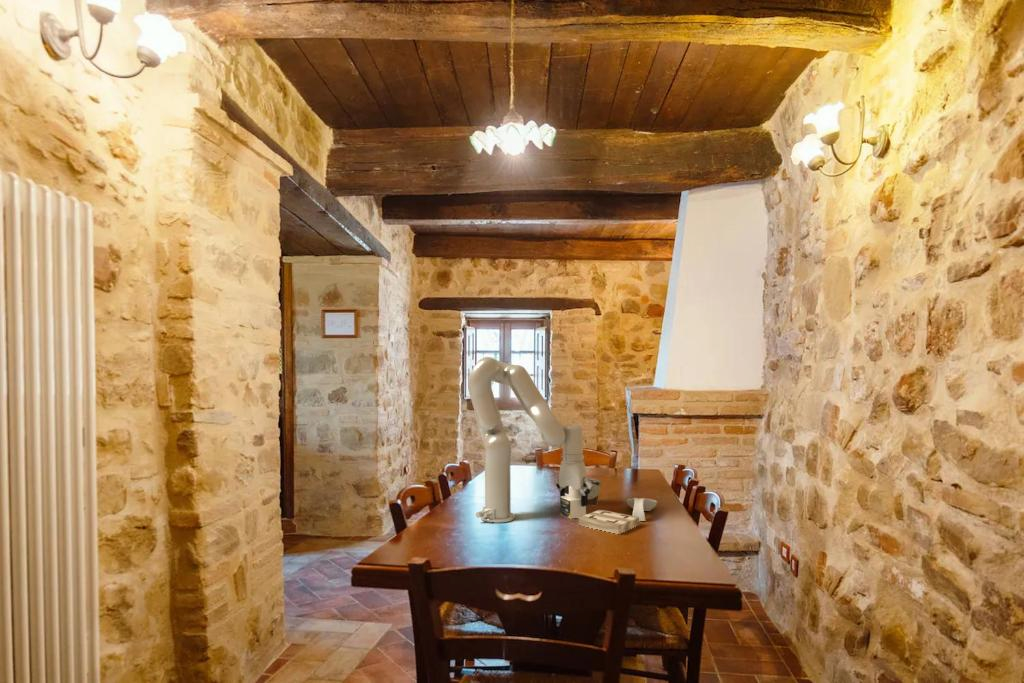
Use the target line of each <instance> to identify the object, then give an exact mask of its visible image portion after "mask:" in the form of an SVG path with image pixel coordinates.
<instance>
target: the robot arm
mask: <svg viewBox="0 0 1024 683" xmlns="http://www.w3.org/2000/svg"><path fill="white" fill-rule="evenodd" d="M492 382H494V383H497V384H501V385H504V386H508V387H509V388H510V389H511V390H512V392H513V394H514V395H515V397H516V399H517V400H518V402H519V405H521V407H522V409H523V410H524V411H525V413H526V414H527V415H528V416H529V417H530V418H531V419H532V420H533V422H534V423H535V424H536V427H537V428H538V430H539V431H540V432H541V433H540V434H541V439H542V440H543V441H544V442H545V444H547V445H548V446H551V447H552V448H558V447H560V446H562V453H561V454H560V457H561V458H562V460H561V461H560V465H559V474H558V476H557V477H555V478H554V479H553V480H554V483H555V486H556V488H557V489H558V492H559V498H560V497H561V496H566V495H565V487H566V486H571V487H572V489H574V490H580V492H581V493H582V496H581V506H582V507H584V506H586V505H587V503H588V494H589V493H590V492H591V490H592V488H593V484H592V483H591V482H590V481H589V480H587V478H588V477H587V469H586V465H585V461H584V451H583V450H584V447H583V446H584V445H583V427H582V426H581V425H580V424H566V425H564V424H561V423H560V422H559V420H558V418H557V416H555V414H554V412H553V411H552V410H551V408H550V406H549V405H548V403H547V401H546V400H545V398H544V397H543V395H542V393H541V391H540V390H539V389H538V387H537V385H536V384H535V382H534V380H533V379H532V377H531V376H530V374H529V372H528V370H527V369H526V368H525V367H524V366H522V365H519V364H512V363H508V362H504V361H500V360H497V359H495V358H494V357H490V356H485V357H483V358H480V359H479V360H478V361H477V363H476V364H475V365H474V366H473V368H472V370H471V371H470V374H469V377H468V382H467V383H468V384H467V387H468V392H469V397H470V400H471V404H472V407H473V409H474V410H473V411H474V414H475V415H474V418H475V422H476V425H477V428H478V431H479V435H480V437H481V441H482V443H483V446H484V506H483V508H482V510H481V511H477V512H475V517H476V518H480V519H481V521H484V522H487V523H492V522H494V523H495V524H496V523H497V524H501V523H508V522H511V521H514V520H515V518H516V517H515V516H516V515H515V514H514V513H512V512H511V463H512V462H511V461H512V459H511V458H512V445H511V444H512V443H511V441H510V439H509V436H507V434H506V431H505V428H504V424H503V422H502V415H501V412H500V410H499V408H498V406H497V402H496V399H495V395H494V392H493V389H492ZM587 485H588V488H586V486H587ZM586 507H587V506H586ZM494 523H493V524H494Z"/></svg>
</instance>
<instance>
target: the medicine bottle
mask: <svg viewBox="0 0 1024 683" xmlns="http://www.w3.org/2000/svg"><path fill="white" fill-rule="evenodd" d="M565 495H566V496H561V497H560V496H559V500H560V501H559V502H560V506H559V509H560V511H559V512H560V514H561V515H560V516H562V515H563V516H562V517H564V516H565V517H564V518H566V517H568V518H570V519H569V520H572V519H571V518H577V519H579V517H581V516H584V515H586V514H587V506H584V507H582V506H581V492H580V490H574V489H572V487H571V486H566V487H565ZM568 518H567V519H568Z"/></svg>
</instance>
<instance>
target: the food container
mask: <svg viewBox="0 0 1024 683" xmlns="http://www.w3.org/2000/svg"><path fill="white" fill-rule="evenodd" d="M587 480H589V481H590V482H591V483H592V484H593V488H592V490H591V492H590V493H589V494H588V503H587V505H598V504H599V495H600V494H599V493H600V487H602V483H601V480H599V479H596V478H594V477H593V478H591V477H587ZM586 488H588V485H587V486H586ZM581 496H582V493H581ZM598 506H599V505H598Z"/></svg>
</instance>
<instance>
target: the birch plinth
mask: <svg viewBox="0 0 1024 683" xmlns="http://www.w3.org/2000/svg"><path fill="white" fill-rule="evenodd" d="M579 525H581V526H580V527H582V526H585V527H584V528H586V527H589V528H588V529H591V528H593V529H592V530H595V529H598V530H597V531H599V530H602V531H601V532H604V531H606V532H605V533H608V532H611V533H610V534H613V533H615V534H614V535H617V534H619V535H621V533H622V534H624V533H626V532H628V531H631V530H633V529H635V528H637V527H636V526H638V525H639V526H640V521H639V517H636V516H632V515H631V514H630V515H629V514H625V513H621V512H615V511H609V510H606V509H597V510H595V511H592V512H589V513H586V515H584V516H581V517H579V518H578V526H579ZM639 526H638V527H639ZM634 527H635V528H634ZM632 528H633V529H632ZM630 529H631V530H630ZM625 531H626V532H625ZM623 532H624V533H623Z"/></svg>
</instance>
